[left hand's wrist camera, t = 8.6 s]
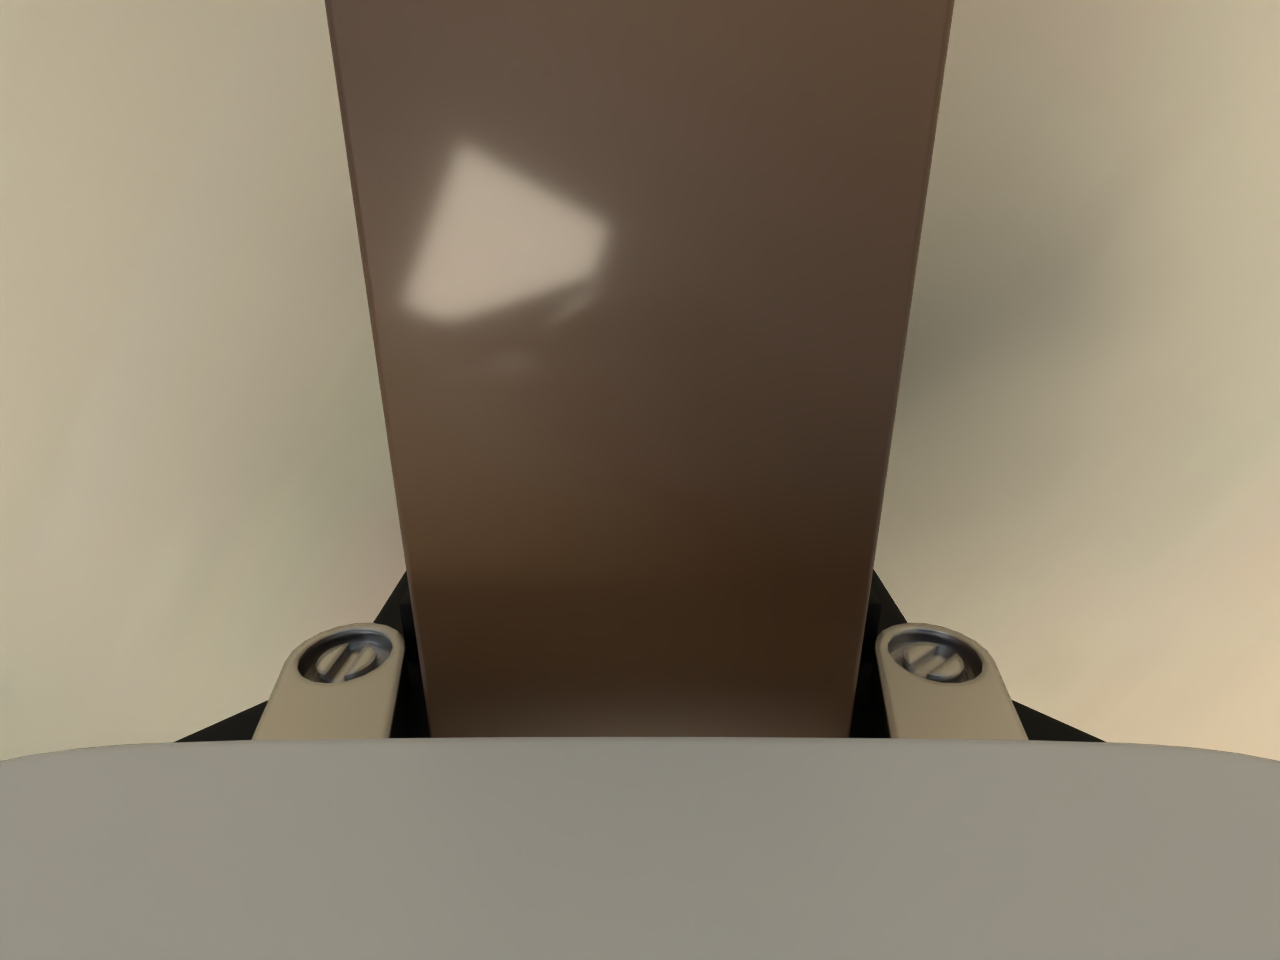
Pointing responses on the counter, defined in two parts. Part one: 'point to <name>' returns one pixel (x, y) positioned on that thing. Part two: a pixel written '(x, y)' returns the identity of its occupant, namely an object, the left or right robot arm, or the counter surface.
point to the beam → (639, 343)
